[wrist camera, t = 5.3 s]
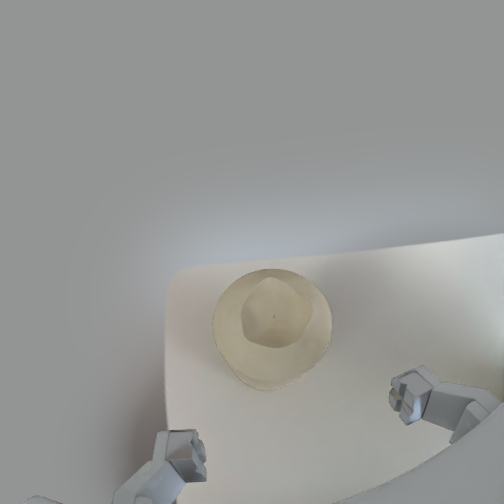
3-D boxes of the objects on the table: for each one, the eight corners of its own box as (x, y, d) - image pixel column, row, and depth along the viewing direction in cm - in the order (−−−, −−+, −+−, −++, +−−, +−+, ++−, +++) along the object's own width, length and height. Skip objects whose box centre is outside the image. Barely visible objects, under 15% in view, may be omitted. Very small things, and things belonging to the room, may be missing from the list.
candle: (230, 322, 21) (209, 255, 12) (301, 319, 21) (329, 250, 12) (231, 392, 18) (205, 379, 9) (307, 388, 18) (349, 370, 9)
